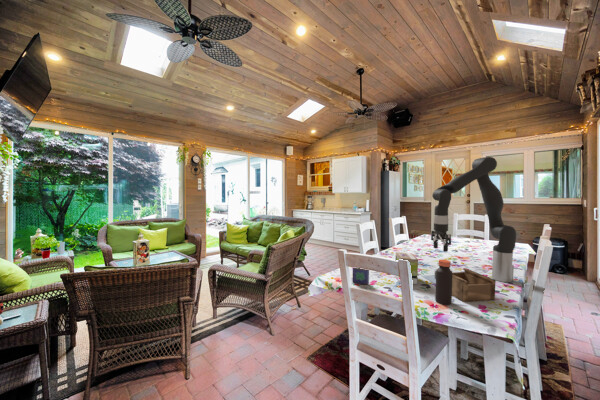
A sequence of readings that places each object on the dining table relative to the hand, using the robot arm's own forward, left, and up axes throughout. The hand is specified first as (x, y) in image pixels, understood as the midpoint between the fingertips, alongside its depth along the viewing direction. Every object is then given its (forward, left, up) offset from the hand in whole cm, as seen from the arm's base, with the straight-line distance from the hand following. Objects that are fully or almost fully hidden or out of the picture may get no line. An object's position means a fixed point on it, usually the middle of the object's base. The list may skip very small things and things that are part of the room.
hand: (440, 249), depth 147 cm
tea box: (+20, -3, -18) cm, 27 cm away
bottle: (+18, +27, -18) cm, 38 cm away
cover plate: (0, 0, -19) cm, 19 cm away
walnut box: (0, +19, -18) cm, 27 cm away
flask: (+50, +1, -18) cm, 53 cm away
